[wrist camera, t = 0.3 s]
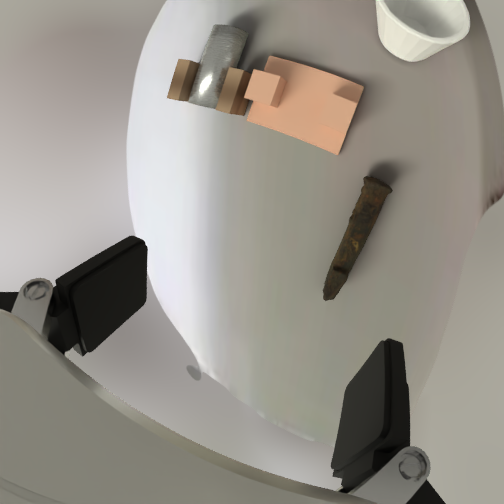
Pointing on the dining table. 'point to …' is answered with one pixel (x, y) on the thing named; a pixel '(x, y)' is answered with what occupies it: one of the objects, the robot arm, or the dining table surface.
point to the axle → (217, 64)
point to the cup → (421, 26)
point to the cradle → (303, 102)
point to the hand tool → (356, 234)
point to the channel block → (230, 93)
